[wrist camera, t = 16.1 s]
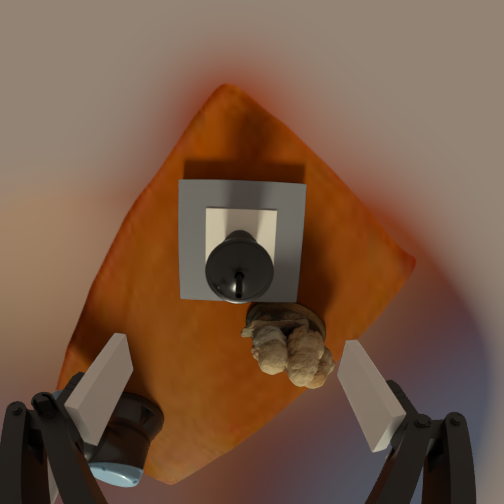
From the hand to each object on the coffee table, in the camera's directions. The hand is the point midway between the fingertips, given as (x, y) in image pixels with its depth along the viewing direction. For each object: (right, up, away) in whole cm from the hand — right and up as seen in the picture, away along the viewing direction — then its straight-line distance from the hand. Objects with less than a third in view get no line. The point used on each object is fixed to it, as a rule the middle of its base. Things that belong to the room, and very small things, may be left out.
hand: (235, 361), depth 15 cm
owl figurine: (+7, -8, +37) cm, 38 cm away
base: (-1, +8, +32) cm, 33 cm away
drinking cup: (-1, +7, +29) cm, 30 cm away
